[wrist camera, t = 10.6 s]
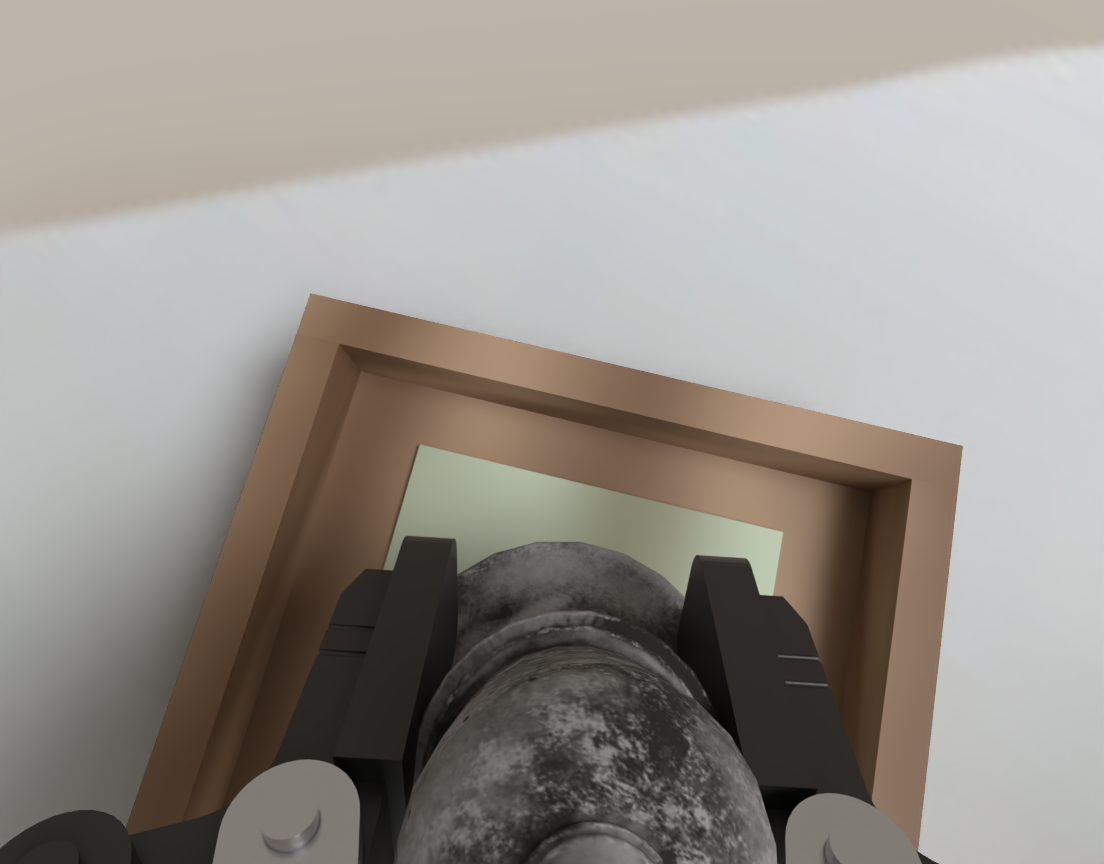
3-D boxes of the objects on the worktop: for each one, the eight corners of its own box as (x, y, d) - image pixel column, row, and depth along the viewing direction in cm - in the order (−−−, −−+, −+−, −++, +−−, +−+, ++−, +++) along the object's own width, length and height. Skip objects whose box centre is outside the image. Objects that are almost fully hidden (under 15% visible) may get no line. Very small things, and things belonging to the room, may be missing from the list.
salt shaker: (357, 722, 15) (-291, 1147, 3) (530, 501, 16) (509, 228, 4) (582, 914, 14) (785, 2363, 2) (747, 667, 15) (1411, 868, 4)
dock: (200, 875, 18) (74, 977, 13) (363, 363, 21) (310, 293, 16) (784, 1033, 17) (879, 1200, 13) (862, 482, 21) (962, 446, 16)
